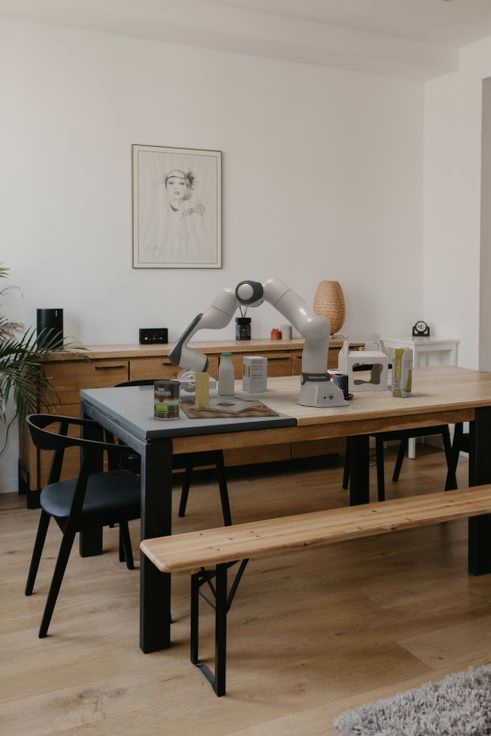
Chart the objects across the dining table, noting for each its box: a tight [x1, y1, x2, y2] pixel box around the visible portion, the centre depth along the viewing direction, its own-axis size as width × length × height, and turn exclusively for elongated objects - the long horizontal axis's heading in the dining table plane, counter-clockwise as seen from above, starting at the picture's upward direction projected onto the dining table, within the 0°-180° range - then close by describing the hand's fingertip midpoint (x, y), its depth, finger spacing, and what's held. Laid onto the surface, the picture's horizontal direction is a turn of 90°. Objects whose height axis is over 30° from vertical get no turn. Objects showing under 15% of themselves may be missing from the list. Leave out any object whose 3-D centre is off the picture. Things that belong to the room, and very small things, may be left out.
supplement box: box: [242, 355, 268, 394], centre depth 339 cm, size 10×9×17 cm
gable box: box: [337, 333, 389, 393], centre depth 350 cm, size 22×13×28 cm, turn 102°
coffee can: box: [153, 379, 181, 421], centre depth 268 cm, size 10×10×14 cm
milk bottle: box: [217, 351, 235, 397], centre depth 326 cm, size 8×8×20 cm
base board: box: [180, 399, 280, 420], centre depth 288 cm, size 36×36×3 cm
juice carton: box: [390, 345, 414, 398], centre depth 329 cm, size 9×8×24 cm
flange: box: [189, 372, 266, 414], centre depth 284 cm, size 25×29×15 cm
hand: (195, 386), depth 291 cm, fingers closed
